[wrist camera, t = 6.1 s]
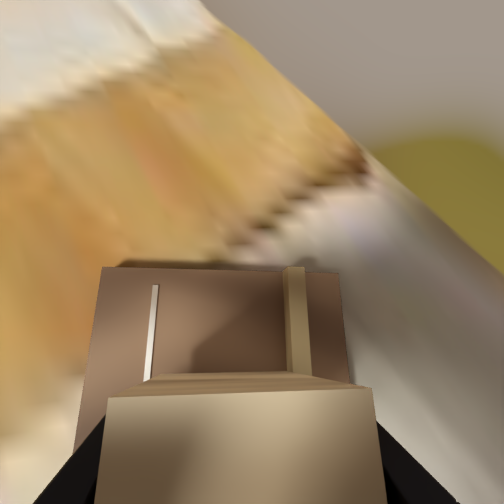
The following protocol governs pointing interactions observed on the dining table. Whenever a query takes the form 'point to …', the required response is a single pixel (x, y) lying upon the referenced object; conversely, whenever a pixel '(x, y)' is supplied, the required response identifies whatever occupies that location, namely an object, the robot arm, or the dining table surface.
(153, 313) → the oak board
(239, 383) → the cream rectangular block
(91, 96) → the dining table surface
